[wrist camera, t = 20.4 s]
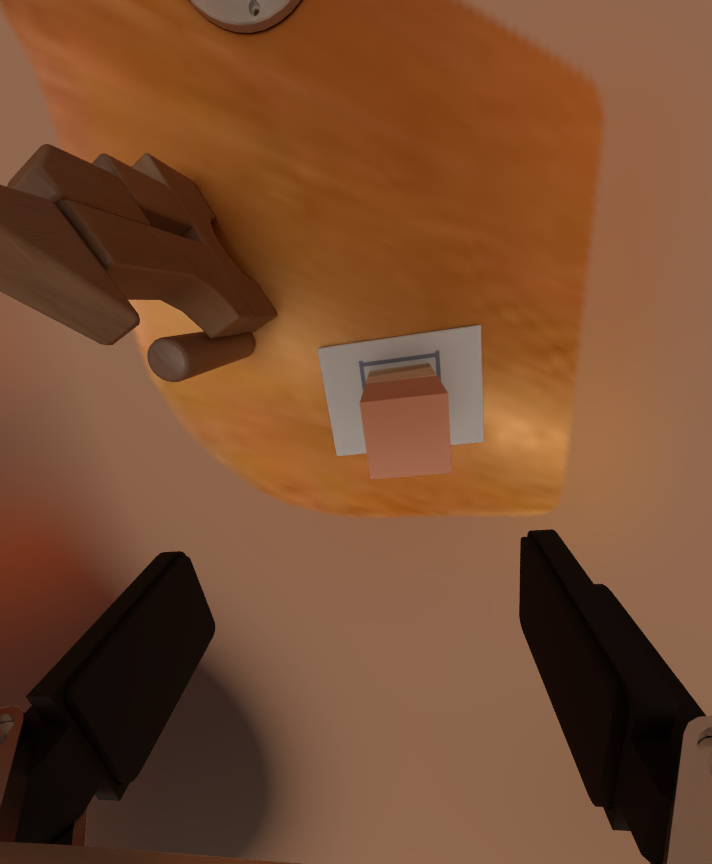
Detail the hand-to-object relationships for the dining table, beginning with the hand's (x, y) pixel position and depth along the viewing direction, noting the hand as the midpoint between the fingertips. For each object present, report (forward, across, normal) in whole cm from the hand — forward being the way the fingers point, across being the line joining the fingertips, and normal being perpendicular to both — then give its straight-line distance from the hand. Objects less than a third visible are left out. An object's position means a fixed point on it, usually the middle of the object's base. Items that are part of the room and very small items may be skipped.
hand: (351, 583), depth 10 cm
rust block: (+21, -2, +2) cm, 21 cm away
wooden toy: (+29, +15, -12) cm, 34 cm away
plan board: (+28, -2, +2) cm, 28 cm away
